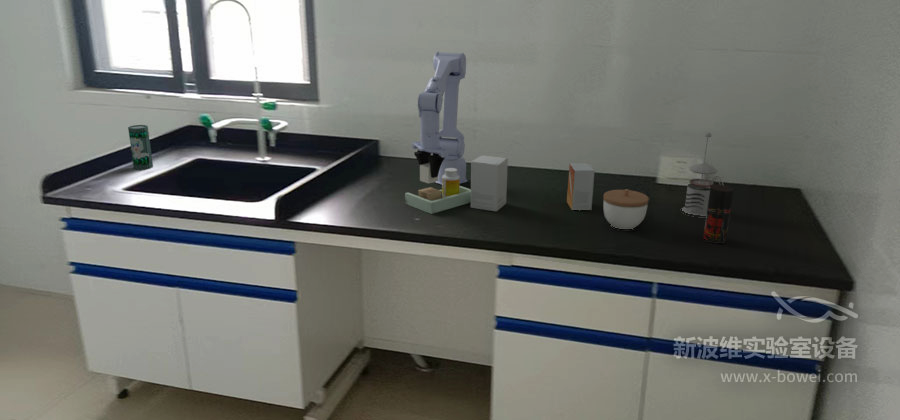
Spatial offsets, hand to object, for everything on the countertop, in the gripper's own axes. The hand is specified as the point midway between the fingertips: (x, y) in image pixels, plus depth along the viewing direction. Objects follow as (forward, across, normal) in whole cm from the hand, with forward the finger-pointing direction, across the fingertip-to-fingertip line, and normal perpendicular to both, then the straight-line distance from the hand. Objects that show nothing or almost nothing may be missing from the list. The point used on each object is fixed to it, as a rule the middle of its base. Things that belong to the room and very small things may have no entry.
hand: (429, 175), depth 214 cm
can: (+10, -98, -52) cm, 111 cm away
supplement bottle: (+10, +1, +8) cm, 13 cm away
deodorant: (+10, +74, +41) cm, 85 cm away
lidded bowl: (+10, +51, +30) cm, 60 cm away
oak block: (+10, +1, 0) cm, 10 cm away
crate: (+10, +1, +4) cm, 10 cm away
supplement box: (+10, +13, +13) cm, 21 cm away
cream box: (+2, 0, 0) cm, 2 cm away
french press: (+10, +60, +59) cm, 84 cm away
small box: (+10, +32, +34) cm, 48 cm away
